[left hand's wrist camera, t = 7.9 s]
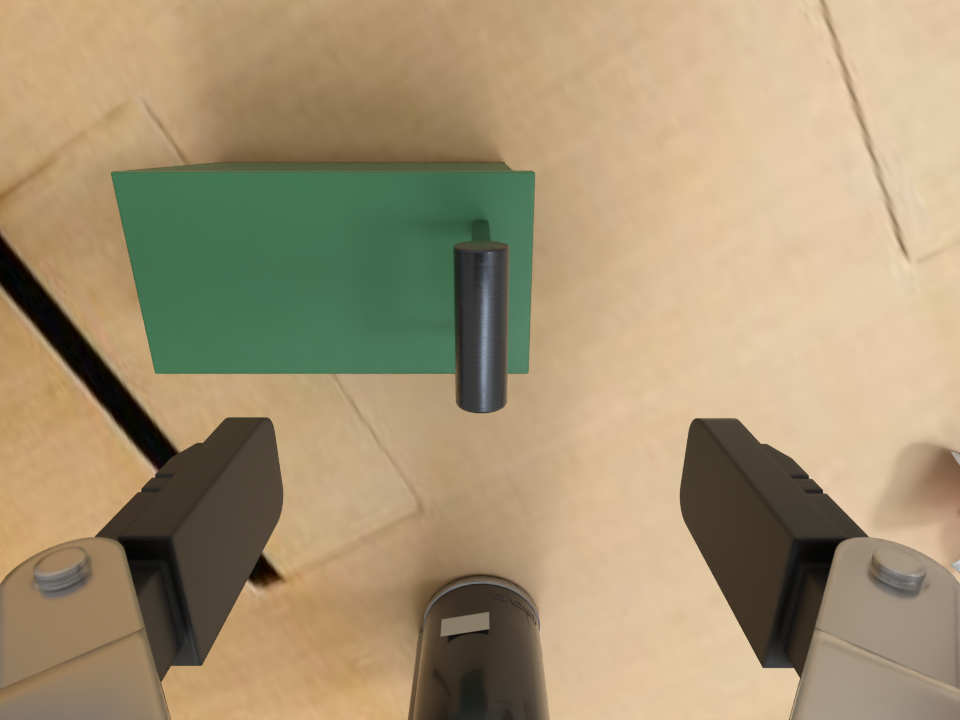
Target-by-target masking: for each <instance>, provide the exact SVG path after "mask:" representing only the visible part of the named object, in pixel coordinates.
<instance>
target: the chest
mask: <svg viewBox="0 0 960 720" xmlns="http://www.w3.org/2000/svg"><path fill="white" fill-rule="evenodd" d="M127 171H512V170H511V169H510V168H509V167H508V166H507V165H506V164H505V162H217V163H209V164H197V165H186V166H174V167H162V168H150V169H139V170H127Z"/></svg>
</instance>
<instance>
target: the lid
mask: <svg viewBox="0 0 960 720" xmlns="http://www.w3.org/2000/svg"><path fill="white" fill-rule="evenodd" d="M111 176H112V180H113V185H114V189H115V194H116V198H117V203H118V207H119V212H120V216H121V221H122V225H123V230H124V234H125V239H126V243H127V248H128V252H129V257H130V261H131V266H132V271H133V275H134V280H135V284H136V289H137V293H138V298H139V302H140V307H141V311H142V316H143V320H144V325H145V329H146V334H147V338H148V343H149V347H150V352H151V356H152V361H153V365H154V370H155V373H156V374H455V377H456V403H457V405H458V407H460V408H461V409H463V410H465V411H468V412H473V413H490V412H495V411H498V410H500V409H502V408H503V407H504V406H505V405H506V403H507V374H527V373H528V372H529V342H530V312H531V281H532V251H533V221H534V191H535V172H533V171H116V172H111Z"/></svg>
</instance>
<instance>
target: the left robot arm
mask: <svg viewBox="0 0 960 720" xmlns="http://www.w3.org/2000/svg"><path fill="white" fill-rule="evenodd" d="M282 504H283V485H282V479H281V472H280V465H279V458H278V451H277V444H276V437H275V431H274V426H273V424H272V421H271V420H270V419H269V418H226V419H225V420H224V421H223V422H222V423H221V424H220V425H219V426H218V427H217V428H216V429H215V430H214V432H213V433H212V434H211V435H210V436H209V437H208V438H207V439H206V440H205V441H204V442H203V443H196V444H194V445H193V446H191V447H189V448H187V449H186V450H184V451H182V452H180V453H179V454H177V455H175V456H174V457H172V458H171V459H170V460H169V461H168V462H167V463H166V464H165V465H164V466H163V467H162V468H161V469H160V470H159V471H158V472H157V473H156V474H155V478H151V479H150V480H149V481H148V483H147V484H146V485H145V486H144V487H143V488H142V491H141V492H138V493H137V494H136V495H135V496H134V497H133V498H132V499H131V500H130V501H129V502H128V503H127V504H126V505H125V506H124V507H123V508H122V509H121V510H120V511H119V512H118V513H117V514H116V515H115V516H114V517H113V519H112V520H111V521H110V522H109V523H108V524H107V525H106V526H105V527H104V528H103V529H102V530H101V531H100V532H99V533H98V534H97V535H96V536H95V537H90V538H82V539H77V540H72V541H68V542H65V543H61V544H59V545H56V546H53V547H50V548H48V549H46V550H44V551H42V552H39V553H38V554H36V555H34V556H32V557H30V558H29V559H27V560H26V561H24V562H22V563H21V564H20V565H18V566H17V567H16V568H14V569H13V570H12V571H11V572H10V573H9V574H8V575H7V576H6V577H5V578H4V580H3V581H2V582H1V584H0V720H171V718H170V714H169V710H168V707H167V703H166V699H165V695H164V692H163V688H162V685H161V682H162V680H163V678H164V676H165V675H166V673H167V671H168V670H169V668H170V666H202V664H203V662H204V660H205V658H206V657H207V655H208V653H209V651H210V649H211V647H212V645H213V643H214V642H215V640H216V638H217V636H218V634H219V632H220V630H221V628H222V626H223V625H224V623H225V621H226V619H227V617H228V615H229V613H230V611H231V609H232V608H233V606H234V604H235V602H236V600H237V598H238V596H239V594H240V592H241V591H242V589H243V587H244V585H245V583H246V581H247V579H248V577H249V575H250V574H251V572H252V570H253V568H254V566H255V564H256V562H257V560H258V558H259V557H260V555H261V553H262V551H263V549H264V547H265V545H266V543H267V541H268V540H269V538H270V536H271V534H272V532H273V530H274V528H275V526H276V525H277V523H278V520H279V518H280V515H281V510H282ZM680 505H681V511H682V516H683V519H684V521H685V524H686V525H687V527H688V529H689V531H690V533H691V535H692V537H693V538H694V540H695V542H696V544H697V546H698V548H699V550H700V552H701V553H702V555H703V557H704V559H705V561H706V563H707V565H708V566H709V568H710V570H711V572H712V574H713V576H714V578H715V580H716V581H717V583H718V585H719V587H720V589H721V591H722V593H723V594H724V596H725V598H726V600H727V602H728V604H729V606H730V607H731V609H732V611H733V613H734V615H735V617H736V619H737V621H738V622H739V624H740V626H741V628H742V630H743V632H744V634H745V635H746V637H747V639H748V641H749V643H750V645H751V647H752V648H753V650H754V652H755V654H756V656H757V658H758V660H759V662H760V663H761V665H762V667H763V668H794V669H795V670H796V672H797V674H798V675H799V677H800V681H799V685H798V688H797V692H796V695H795V699H794V703H793V707H792V710H791V714H790V718H789V720H960V584H959V582H958V581H957V580H956V578H955V577H954V576H953V575H952V574H951V573H950V572H949V571H948V570H947V569H946V568H944V567H943V566H942V565H940V564H939V563H938V562H936V561H934V560H933V559H931V558H930V557H928V556H926V555H924V554H922V553H921V552H918V551H916V550H914V549H912V548H910V547H907V546H904V545H901V544H899V543H895V542H892V541H888V540H883V539H878V538H870V537H868V536H867V534H866V533H865V532H864V531H863V530H862V529H861V528H860V527H859V526H858V525H857V524H856V523H855V522H854V521H853V520H852V519H851V518H850V517H849V516H848V515H847V514H846V513H845V512H844V511H843V510H842V509H841V508H840V507H839V506H838V505H837V504H836V503H835V502H834V501H833V500H832V499H831V498H830V497H829V496H828V495H827V494H823V490H822V489H821V488H820V487H819V486H818V485H817V484H816V482H815V481H814V480H813V479H809V475H808V474H807V473H806V472H805V471H804V470H803V469H802V468H801V467H800V466H799V465H798V464H797V463H796V462H795V461H794V460H793V459H792V458H790V457H788V456H787V455H785V454H783V453H781V452H780V451H778V450H776V449H774V448H773V447H771V446H769V445H767V444H760V443H759V442H758V440H757V439H756V438H755V437H754V436H753V435H752V434H751V433H750V432H749V431H748V430H747V429H746V427H745V426H744V425H743V424H742V423H741V422H740V421H739V420H738V419H735V418H696V419H694V420H693V421H692V423H691V425H690V428H689V433H688V439H687V446H686V453H685V460H684V466H683V473H682V480H681V487H680ZM539 631H540V623H539V615H538V611H537V608H536V605H535V603H534V602H533V600H532V599H531V597H530V596H529V595H528V594H527V593H526V592H525V591H524V590H523V589H521V588H520V587H518V586H517V585H515V584H513V583H511V582H509V581H506V580H503V579H500V578H495V577H488V576H475V577H468V578H463V579H460V580H457V581H454V582H452V583H450V584H448V585H446V586H444V587H443V588H442V589H440V590H439V591H438V592H437V593H436V594H435V595H434V596H433V597H432V598H431V600H430V601H429V603H428V605H427V607H426V610H425V613H424V620H423V631H422V632H421V633H420V634H419V636H418V644H417V652H416V660H415V668H414V676H413V684H412V692H411V700H410V708H409V716H408V720H550V717H549V708H548V700H547V692H546V683H545V675H544V667H543V659H542V650H541V642H540V634H539Z"/></svg>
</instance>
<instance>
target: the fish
mask: <svg viewBox="0 0 960 720" xmlns="http://www.w3.org/2000/svg"><path fill="white" fill-rule="evenodd" d="M950 452H951V454H952V455H953V457H954V458H955V460H956V461H957V463H958V464H959V465H960V453H956V452H953V451H950ZM959 518H960V516H959ZM951 566H952V567H953V568H955V569H956V570H957V571H958V572H959V573H960V560H958V561H956V562H955V563H953V564H951Z"/></svg>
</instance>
